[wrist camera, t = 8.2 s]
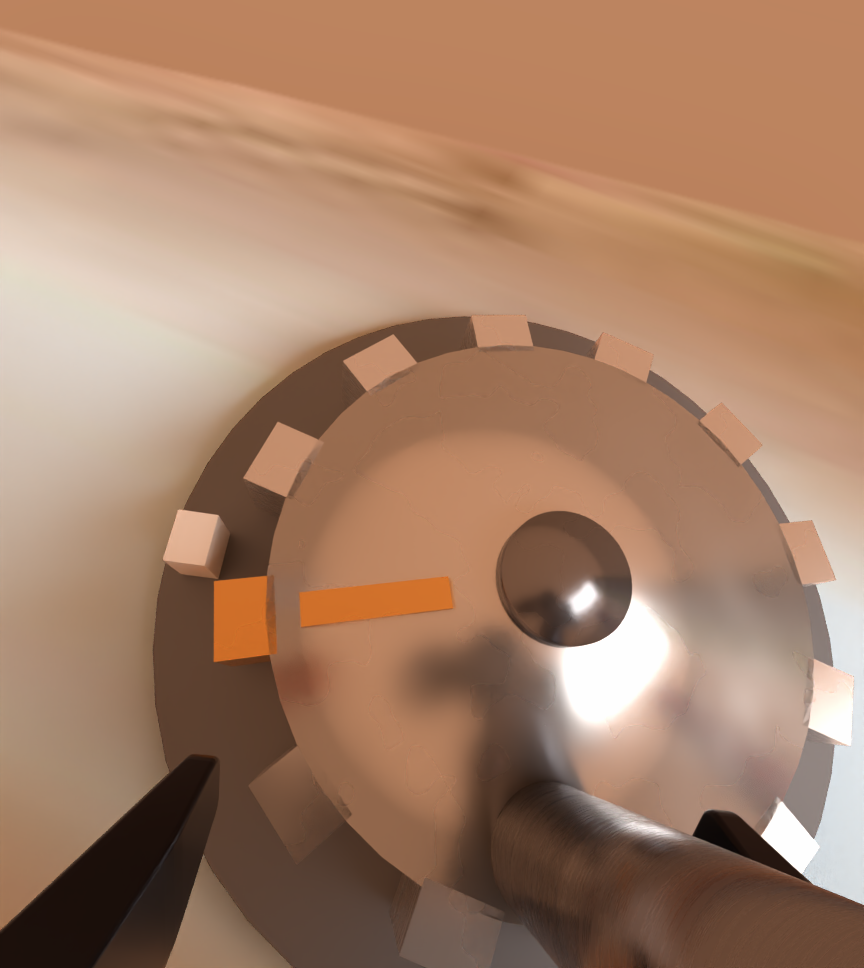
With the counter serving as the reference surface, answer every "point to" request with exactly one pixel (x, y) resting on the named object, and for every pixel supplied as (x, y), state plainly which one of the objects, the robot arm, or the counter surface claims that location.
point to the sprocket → (543, 659)
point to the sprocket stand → (257, 708)
